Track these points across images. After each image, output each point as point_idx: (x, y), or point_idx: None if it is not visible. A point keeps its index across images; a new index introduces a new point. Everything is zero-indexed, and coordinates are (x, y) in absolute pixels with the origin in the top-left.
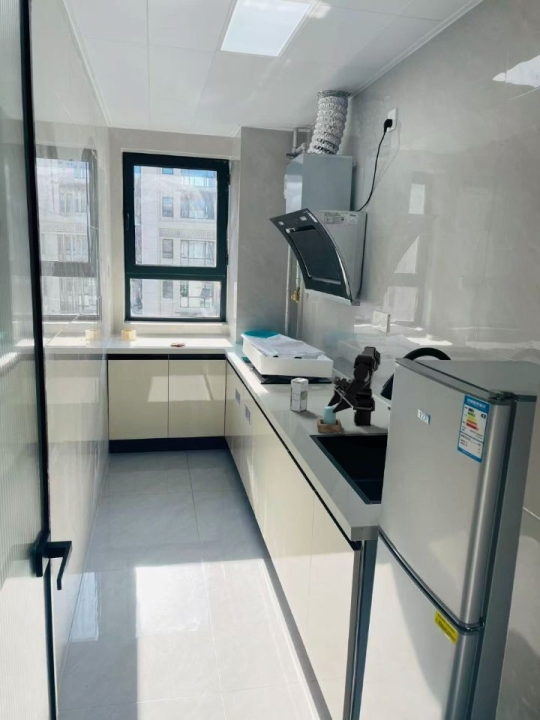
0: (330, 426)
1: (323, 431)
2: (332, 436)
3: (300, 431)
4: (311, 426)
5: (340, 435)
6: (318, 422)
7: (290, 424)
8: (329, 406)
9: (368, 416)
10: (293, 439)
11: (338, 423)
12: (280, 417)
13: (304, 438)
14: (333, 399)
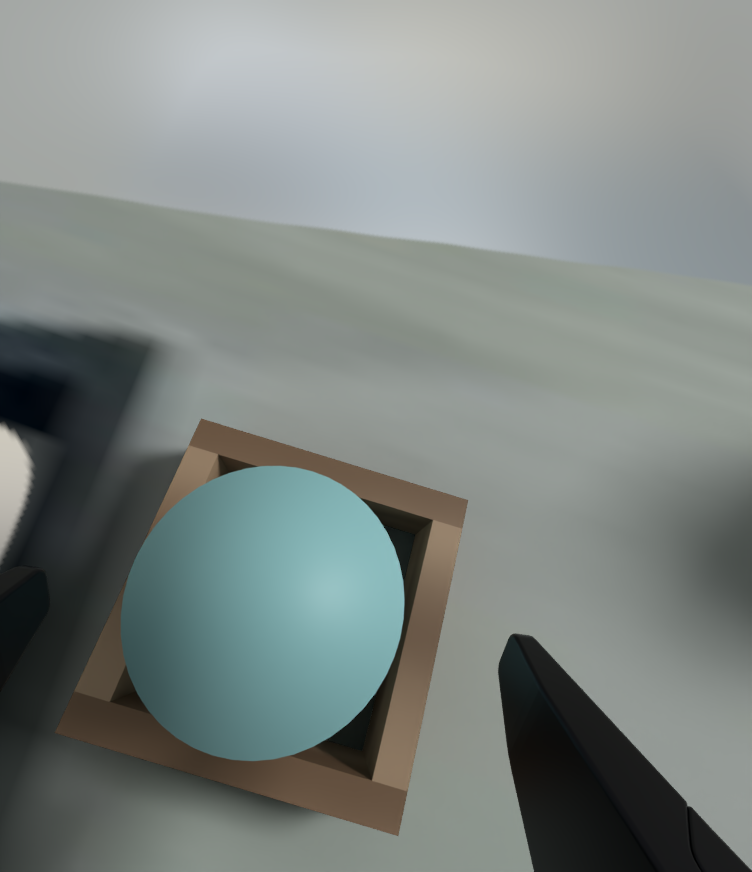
0: None
1: None
2: (21, 545)
3: (286, 309)
4: (419, 452)
5: None
6: (298, 455)
7: (500, 302)
8: (389, 631)
9: None
10: (92, 195)
11: None
12: (702, 294)
13: (81, 274)
14: (617, 861)
